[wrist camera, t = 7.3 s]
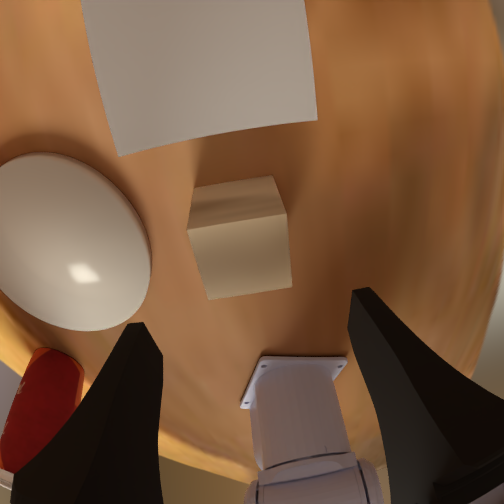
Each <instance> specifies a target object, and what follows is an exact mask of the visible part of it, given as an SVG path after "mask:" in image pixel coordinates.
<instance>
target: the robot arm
mask: <svg viewBox="0 0 504 504" xmlns="http://www.w3.org/2000/svg"><path fill="white" fill-rule="evenodd" d="M347 328H348V332H349V336H350V340H351V344H352V347H353V351H354V354H355V357H356V360H357V362H358V365H359V367H360V370H361V373H362V375H363V378H364V380H365V383H366V385H367V388H368V391H369V393H370V396H371V399H372V401H373V404H374V407H375V410H376V414H377V418H378V422H379V426H380V430H381V435H382V440H383V445H384V450H385V455H386V462H387V468H388V475H389V484H390V493H391V504H504V400H503V399H501V398H500V397H498V396H496V395H494V394H492V393H491V392H489V391H487V390H486V389H484V388H482V387H481V386H479V385H478V384H476V383H475V382H473V381H472V380H470V379H469V378H467V377H466V376H464V375H463V374H461V373H460V372H459V371H457V370H456V369H455V368H453V367H452V366H451V365H449V364H448V363H447V362H446V361H444V360H443V359H442V358H441V357H440V356H438V355H437V354H436V353H435V352H434V351H433V350H431V349H430V348H429V347H428V346H427V345H426V344H425V343H424V342H423V341H422V340H421V339H419V338H418V337H417V336H416V335H415V334H414V333H413V332H412V331H411V330H410V329H409V328H408V327H407V326H406V325H405V324H404V323H403V322H402V321H401V320H400V319H399V318H398V317H397V316H396V315H395V314H394V313H393V311H392V310H391V309H390V308H389V307H388V306H387V305H386V304H385V303H384V302H383V301H382V300H381V299H380V298H379V297H378V295H377V294H376V293H375V292H374V291H373V290H372V289H371V288H370V287H366V288H361V289H356V290H352V298H351V305H350V313H349V320H348V327H347ZM347 362H348V361H347V358H346V357H279V356H263V357H261V358H260V359H259V361H258V363H257V366H256V368H255V370H254V373H253V375H252V377H251V380H250V382H249V384H248V387H247V389H246V391H245V394H244V396H243V398H242V400H241V403H240V408H242V409H250V418H251V428H252V439H253V449H254V456H255V460H256V462H257V464H258V466H259V467H260V468H261V470H262V471H258V480H254V481H252V482H251V484H250V486H249V487H248V488H247V490H246V492H245V497H244V504H384V501H383V495H382V490H381V486H380V482H379V478H378V475H377V473H376V470H375V467H374V465H373V464H372V463H371V462H369V461H367V460H366V459H365V458H360V459H357V460H356V456H355V452H351V448H350V444H349V440H348V436H347V432H346V428H345V424H344V421H343V417H342V413H341V409H340V405H339V401H338V398H337V394H336V390H335V386H334V383H333V381H334V379H335V378H336V377H337V376H338V374H339V373H340V372H341V370H342V369H343V368H344V366H345V365H346V364H347ZM162 388H163V355H162V353H161V351H160V350H159V348H158V346H157V345H156V343H155V341H154V340H153V338H152V336H151V335H150V333H149V331H148V329H147V328H146V326H145V324H144V322H139V323H129V324H127V326H126V328H125V329H124V331H123V333H122V334H121V336H120V338H119V339H118V341H117V343H116V345H115V346H114V348H113V350H112V352H111V353H110V355H109V357H108V359H107V360H106V362H105V364H104V366H103V367H102V369H101V371H100V372H99V374H98V376H97V378H96V379H95V381H94V382H93V384H92V385H91V387H90V389H89V390H88V392H87V393H86V395H85V397H84V398H83V400H82V401H81V403H80V404H79V405H78V407H77V408H76V410H75V411H74V412H73V414H72V415H71V417H70V418H69V419H68V420H67V422H66V423H65V424H64V425H63V427H62V428H61V429H60V430H59V431H58V432H57V434H56V435H55V436H54V437H53V438H52V440H51V441H50V442H49V443H48V444H47V445H46V446H45V447H44V448H43V449H42V450H41V451H40V452H39V453H38V454H37V455H36V456H35V457H34V458H33V459H32V460H30V461H29V462H28V463H27V464H26V465H25V466H23V467H22V468H21V469H20V470H19V471H17V472H16V473H15V474H14V476H13V483H12V490H11V500H10V503H11V504H163V497H162V490H161V482H160V472H159V458H158V430H159V418H160V408H161V398H162Z"/></svg>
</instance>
